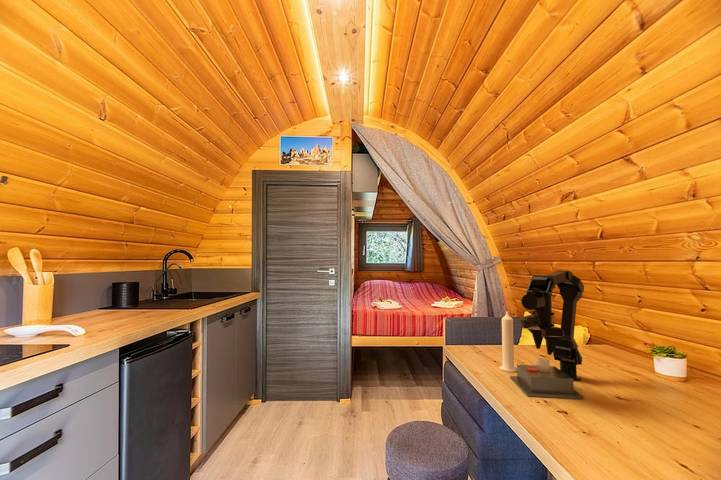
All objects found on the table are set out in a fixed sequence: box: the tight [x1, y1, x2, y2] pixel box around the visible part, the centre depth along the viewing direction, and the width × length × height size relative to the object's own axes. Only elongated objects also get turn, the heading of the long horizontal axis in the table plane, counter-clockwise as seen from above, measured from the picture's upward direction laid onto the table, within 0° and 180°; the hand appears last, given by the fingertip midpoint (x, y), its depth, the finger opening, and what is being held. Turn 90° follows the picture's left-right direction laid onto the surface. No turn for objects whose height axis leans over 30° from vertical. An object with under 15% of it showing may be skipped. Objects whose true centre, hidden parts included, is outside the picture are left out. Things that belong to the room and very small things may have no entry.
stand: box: [509, 364, 584, 400], centre depth 123 cm, size 18×18×7 cm
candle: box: [499, 310, 517, 373], centre depth 145 cm, size 7×7×25 cm
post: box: [536, 357, 551, 373], centre depth 123 cm, size 3×3×9 cm
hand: (543, 351), depth 123 cm, fingers open, 9 cm apart
